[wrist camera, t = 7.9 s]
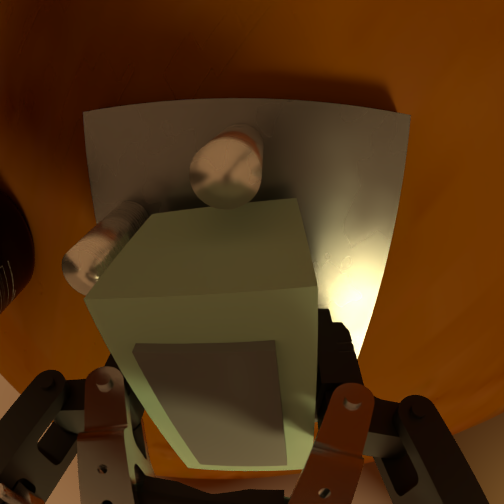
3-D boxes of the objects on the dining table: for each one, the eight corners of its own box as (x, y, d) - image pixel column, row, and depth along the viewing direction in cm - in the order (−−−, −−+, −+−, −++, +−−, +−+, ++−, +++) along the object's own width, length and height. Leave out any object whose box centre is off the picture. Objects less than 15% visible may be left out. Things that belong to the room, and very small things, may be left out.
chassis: (97, 109, 11) (12, 129, 6) (397, 112, 10) (474, 131, 6) (150, 379, 18) (128, 445, 14) (337, 389, 18) (348, 459, 13)
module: (151, 214, 11) (77, 307, 6) (296, 197, 10) (319, 295, 5) (204, 381, 15) (187, 473, 10) (304, 377, 14) (311, 474, 10)
